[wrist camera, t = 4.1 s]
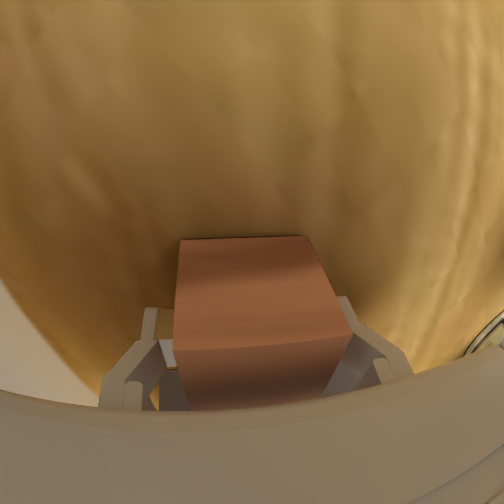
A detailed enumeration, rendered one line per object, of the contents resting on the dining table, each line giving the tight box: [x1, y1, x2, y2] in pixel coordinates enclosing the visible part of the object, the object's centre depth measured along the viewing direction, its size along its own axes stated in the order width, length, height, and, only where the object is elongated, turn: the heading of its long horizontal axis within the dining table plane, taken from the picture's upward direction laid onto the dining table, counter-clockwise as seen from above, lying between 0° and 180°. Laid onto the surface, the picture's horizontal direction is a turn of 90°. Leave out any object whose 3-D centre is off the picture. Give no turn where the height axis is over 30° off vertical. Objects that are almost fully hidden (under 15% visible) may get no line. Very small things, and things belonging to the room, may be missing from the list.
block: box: [172, 236, 353, 411], centre depth 11 cm, size 5×5×5 cm
